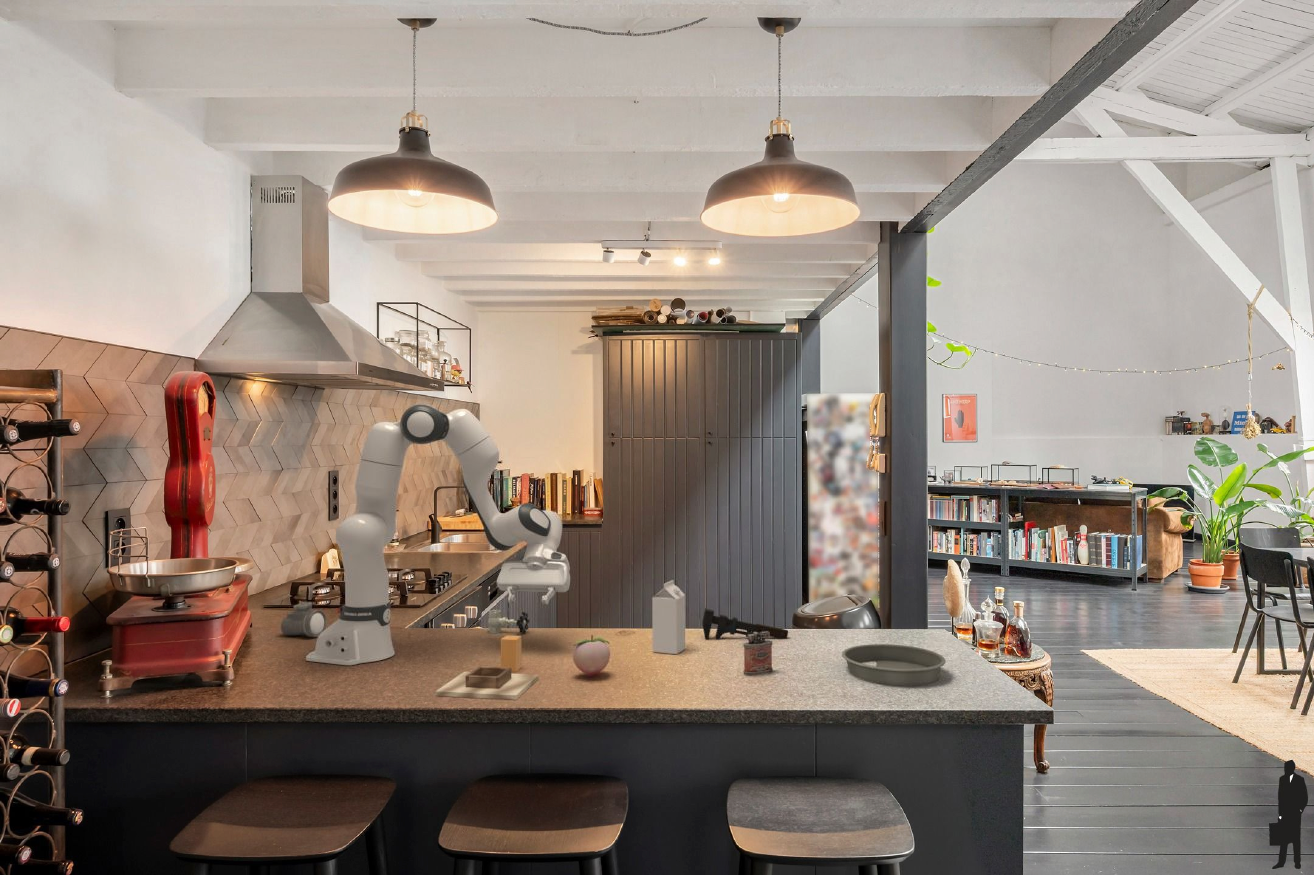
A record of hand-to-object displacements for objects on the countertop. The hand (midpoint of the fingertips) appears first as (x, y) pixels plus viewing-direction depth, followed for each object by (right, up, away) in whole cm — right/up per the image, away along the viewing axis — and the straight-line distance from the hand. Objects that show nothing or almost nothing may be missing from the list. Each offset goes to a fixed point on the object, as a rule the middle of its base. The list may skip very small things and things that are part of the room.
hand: (527, 602), depth 207 cm
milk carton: (+38, -15, +5) cm, 41 cm away
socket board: (-4, -14, -28) cm, 31 cm away
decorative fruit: (+19, -14, -19) cm, 31 cm away
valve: (-11, -15, +27) cm, 33 cm away
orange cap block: (-2, -14, -13) cm, 19 cm away
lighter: (+60, -14, -17) cm, 64 cm away
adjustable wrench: (+61, -15, +18) cm, 66 cm away
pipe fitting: (-72, -15, +24) cm, 77 cm away
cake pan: (+93, -14, -17) cm, 96 cm away
